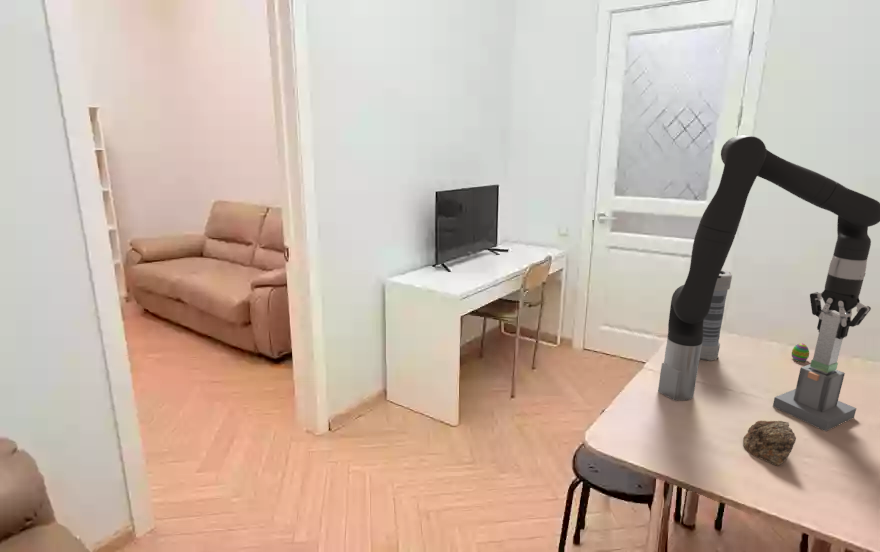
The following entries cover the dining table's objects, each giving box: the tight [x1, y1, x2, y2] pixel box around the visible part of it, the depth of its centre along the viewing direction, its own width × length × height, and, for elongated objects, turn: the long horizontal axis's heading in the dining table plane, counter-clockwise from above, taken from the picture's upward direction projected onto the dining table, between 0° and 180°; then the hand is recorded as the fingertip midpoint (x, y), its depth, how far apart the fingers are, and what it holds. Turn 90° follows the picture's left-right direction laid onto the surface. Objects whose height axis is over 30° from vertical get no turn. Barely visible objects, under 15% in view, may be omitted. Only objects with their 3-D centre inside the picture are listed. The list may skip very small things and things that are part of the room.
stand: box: [772, 363, 857, 432], centre depth 147 cm, size 14×14×13 cm
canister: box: [699, 269, 733, 361], centre depth 180 cm, size 10×10×30 cm
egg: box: [791, 342, 810, 363], centre depth 180 cm, size 5×5×6 cm
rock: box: [742, 420, 797, 467], centre depth 132 cm, size 14×9×10 cm
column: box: [810, 311, 844, 376], centre depth 144 cm, size 4×4×20 cm
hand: (831, 335), depth 142 cm, fingers closed on column, 4 cm apart
